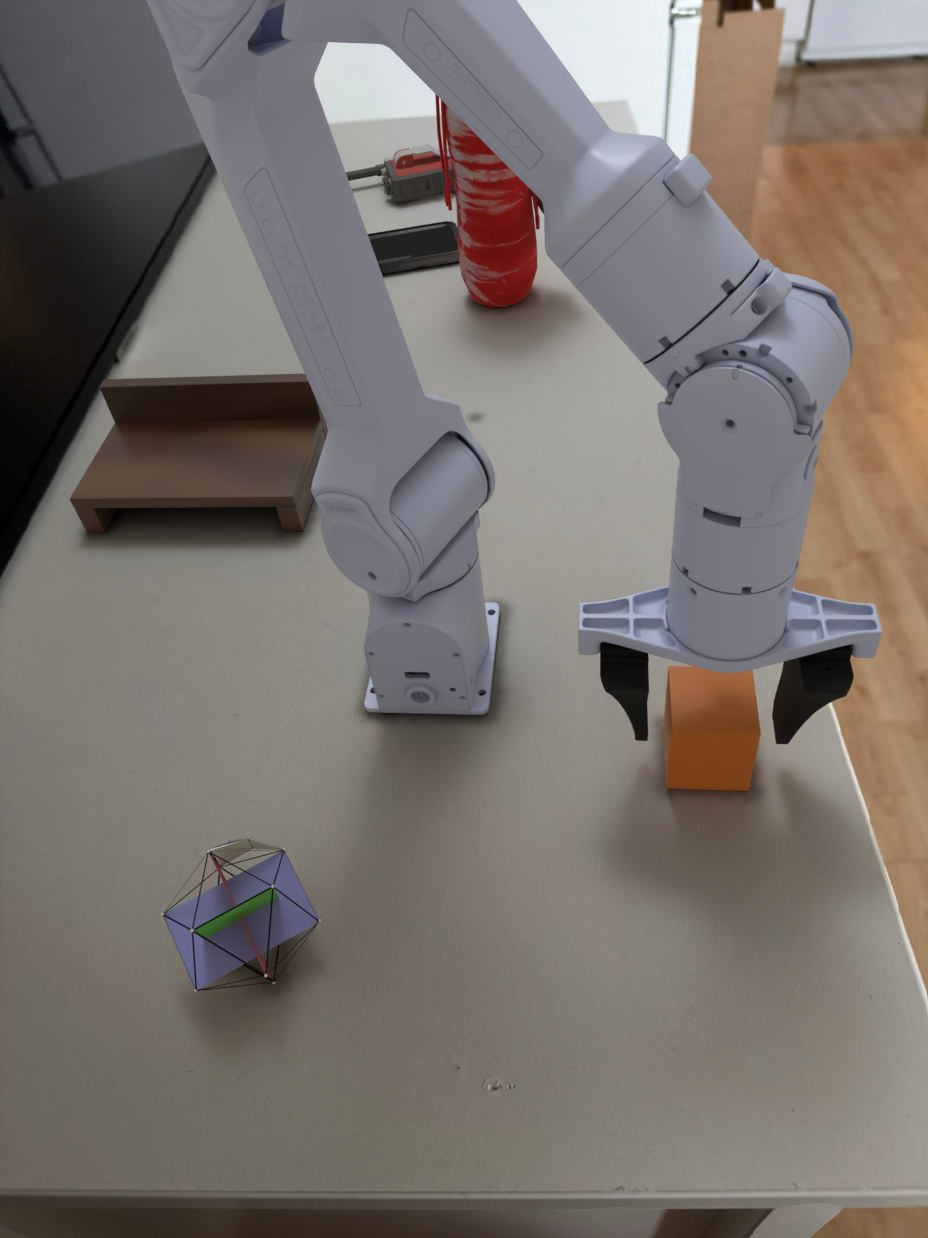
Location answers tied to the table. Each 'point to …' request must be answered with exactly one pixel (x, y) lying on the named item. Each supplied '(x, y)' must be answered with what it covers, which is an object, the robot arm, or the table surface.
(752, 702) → the orange cube-like block
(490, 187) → the water bottle
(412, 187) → the walkie-talkie
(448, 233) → the phone
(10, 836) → the table surface
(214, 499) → the shelf
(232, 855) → the geometric puzzle
